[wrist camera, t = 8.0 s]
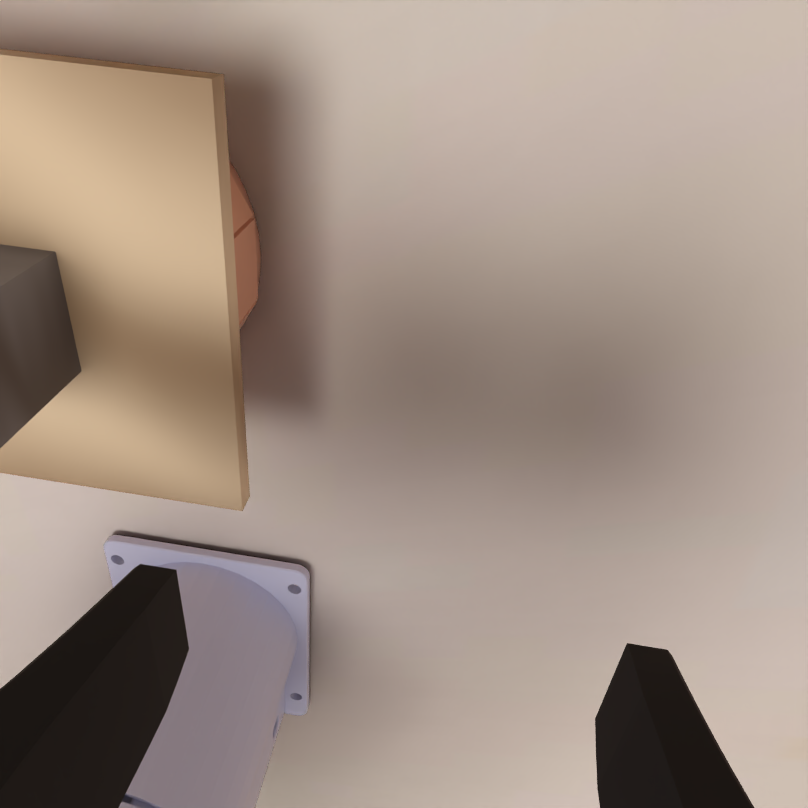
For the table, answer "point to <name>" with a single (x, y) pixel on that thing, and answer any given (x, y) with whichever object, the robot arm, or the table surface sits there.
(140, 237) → the lid
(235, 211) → the bowl
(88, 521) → the table surface
